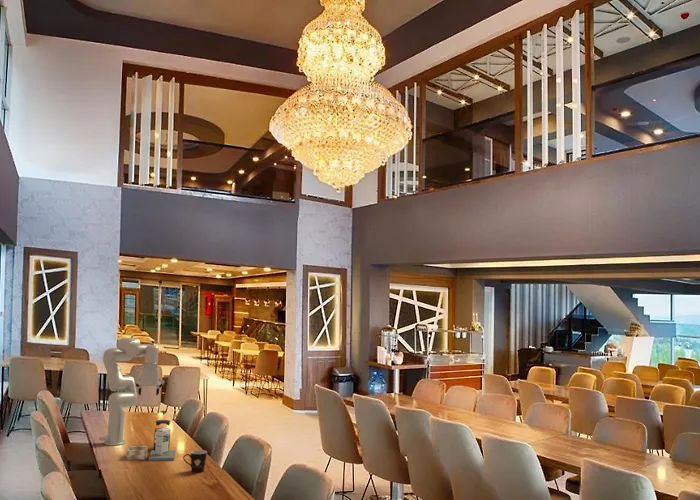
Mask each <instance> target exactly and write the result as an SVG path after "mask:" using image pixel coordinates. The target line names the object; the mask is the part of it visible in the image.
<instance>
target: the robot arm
mask: <svg viewBox="0 0 700 500" xmlns="http://www.w3.org/2000/svg"><path fill="white" fill-rule="evenodd" d="M115 346H116V347H112V348H107V349H106V350H104V352H103V355H102V362H103V365H104V369H105V371H106V375H107V382H108V388H109V390H110V391H112V392H113V393H111V394H110V395H109V396H108V421H107V434H106V435H105V436H99V438H98V440H99V441H103V444H104V445H105V446H121V445H124V444H125V443H126V440H124V430H125V420H126V419H125V418H126V416H125V415H126V414H125V412H124V409H123V408H129V407H134V406H135V405H137V402H138V396H141V395H142V387H143V386H144V387H151V386H153V387H154V386H155V387H156V389H155V390H156V391H155V395H156V396H158V395H159V394H160V388H162V387H163V386H164V385H165V382H166V381H165V380H163V379H162V378H159V377H160V374H159V373H160V372H159V371H160V370H159V368H158V364H159V362H158V361H159V353H160V352H159V349H160V348H159V346H158V345H153V344H149V343H146V344H145V343H142V344H141V341H140V339H138V338H137V337H121V338H120V339H118V340H117V341H116V344H115ZM134 357H135V358H143V357H144V363H141V367H143V368H142V370H141V373H140V377H139V378H138V379H136V380H135V379H134V377H133V376H132V375H123V373H122V369H121V367H120V365H119V364H118V363H117V362H127V361H131V360H132V359H133V358H134ZM159 382H161V383H160V384H159ZM139 383H140V384H139ZM137 388H138V389H137ZM137 390H138V393H137Z"/></svg>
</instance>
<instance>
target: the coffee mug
mask: <svg viewBox="0 0 700 500" xmlns="http://www.w3.org/2000/svg"><path fill="white" fill-rule="evenodd" d="M186 456H189V458H190V463H189V462H188V461H187V460H186V459H185V457H186ZM207 456H208V451H207V450H204V449H203V450H202V449H199V450H197V449H196V450H192V451H190V454H189V453H186V454H184V455H183V461H184V462H185V463H186V464H187V465H189V466H190V468H191V472H192V473H194V474H200V473H204V471H205V466H206V461H207Z"/></svg>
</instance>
